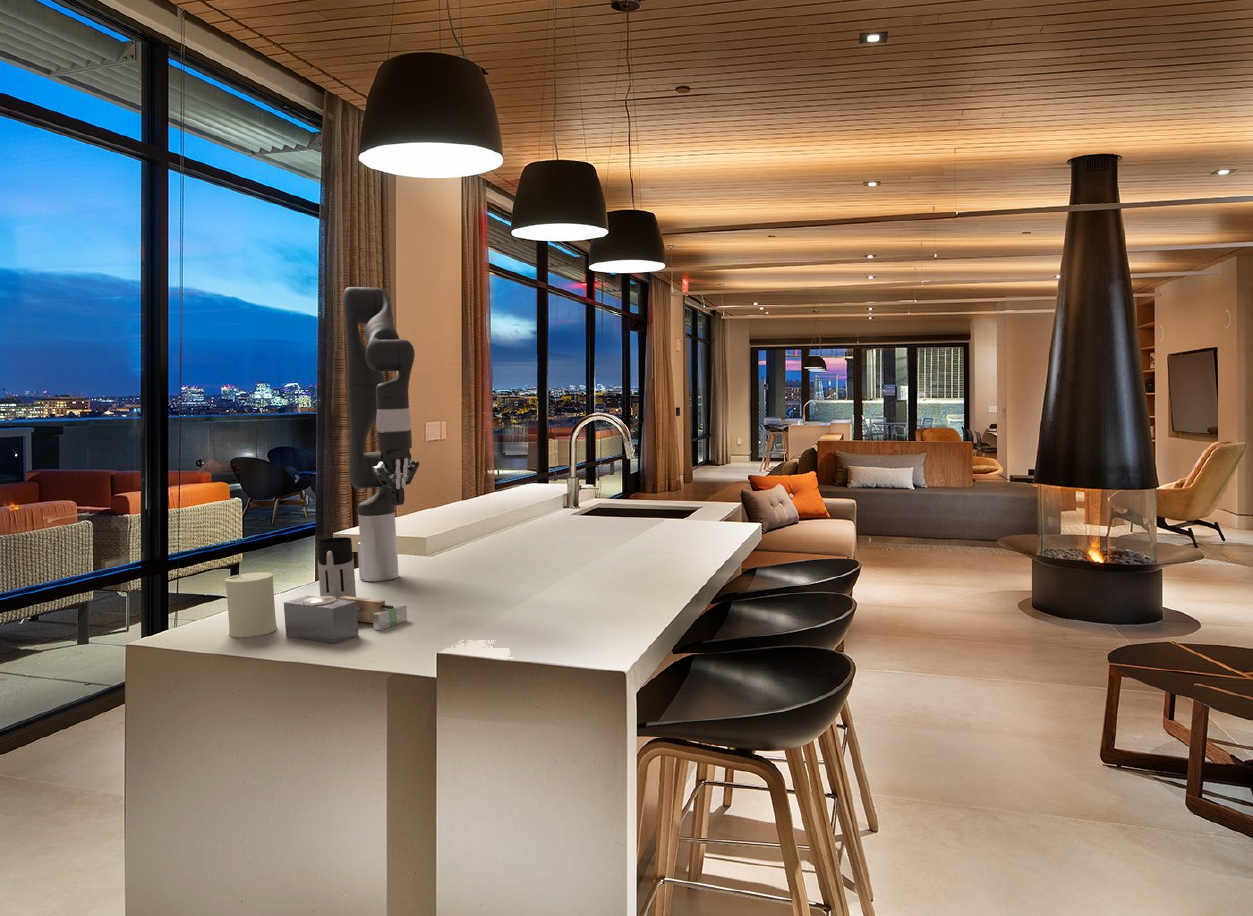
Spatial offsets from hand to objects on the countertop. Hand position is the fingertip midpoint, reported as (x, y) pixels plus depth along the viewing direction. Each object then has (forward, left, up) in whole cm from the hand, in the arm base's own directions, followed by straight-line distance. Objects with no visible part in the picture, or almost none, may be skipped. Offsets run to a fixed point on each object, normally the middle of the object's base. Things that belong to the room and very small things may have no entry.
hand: (398, 504), depth 195 cm
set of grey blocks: (+4, -20, -23) cm, 31 cm away
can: (-14, -29, -23) cm, 40 cm away
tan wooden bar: (+4, -17, -23) cm, 29 cm away
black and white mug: (-14, -7, -23) cm, 28 cm away
